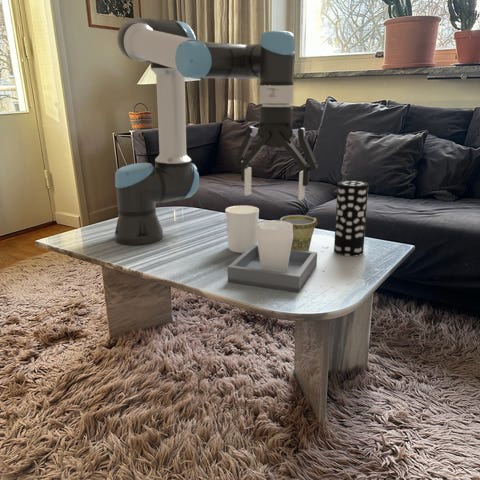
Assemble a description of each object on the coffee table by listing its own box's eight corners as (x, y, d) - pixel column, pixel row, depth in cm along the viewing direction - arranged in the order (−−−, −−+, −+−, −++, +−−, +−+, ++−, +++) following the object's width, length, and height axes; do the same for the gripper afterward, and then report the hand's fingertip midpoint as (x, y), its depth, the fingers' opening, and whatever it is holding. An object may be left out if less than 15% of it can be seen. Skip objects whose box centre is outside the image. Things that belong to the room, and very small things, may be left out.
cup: (293, 277, 112) (294, 230, 108) (256, 277, 112) (256, 230, 108) (290, 263, 120) (291, 220, 117) (256, 263, 121) (256, 220, 117)
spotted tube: (335, 245, 137) (339, 180, 131) (364, 248, 135) (369, 181, 129) (332, 254, 130) (336, 185, 124) (362, 257, 127) (367, 186, 121)
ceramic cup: (297, 261, 125) (298, 226, 122) (272, 252, 132) (272, 219, 129) (328, 251, 133) (330, 218, 130) (303, 243, 140) (304, 211, 137)
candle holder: (223, 253, 132) (222, 213, 128) (229, 242, 141) (228, 205, 138) (257, 254, 131) (257, 214, 127) (260, 243, 140) (260, 205, 136)
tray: (227, 281, 112) (227, 266, 111) (253, 258, 128) (253, 244, 126) (299, 292, 105) (299, 276, 104) (316, 266, 121) (317, 252, 120)
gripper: (219, 105, 105) (220, 195, 112) (327, 107, 96) (321, 204, 103) (232, 104, 112) (232, 189, 118) (334, 105, 103) (328, 197, 110)
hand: (274, 196), depth 111 cm, fingers open, 13 cm apart
